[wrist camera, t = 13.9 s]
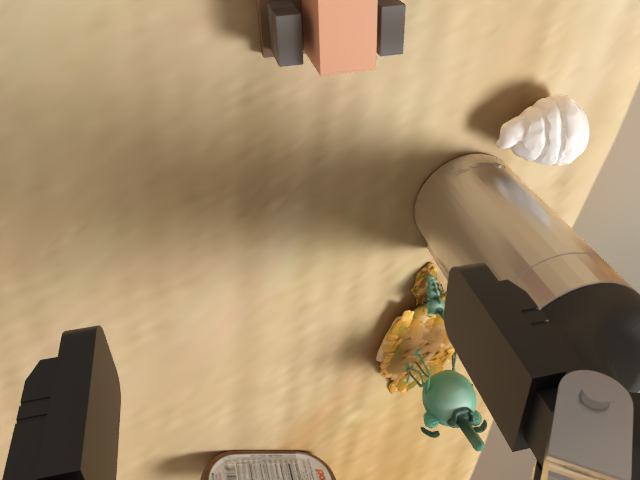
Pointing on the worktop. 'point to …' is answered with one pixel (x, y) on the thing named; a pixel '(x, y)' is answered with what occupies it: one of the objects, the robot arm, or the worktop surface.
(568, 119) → the garlic bulb
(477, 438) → the frog figurine
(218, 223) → the worktop surface
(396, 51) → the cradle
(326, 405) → the worktop surface
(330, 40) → the terracotta clay brick
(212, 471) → the tin
